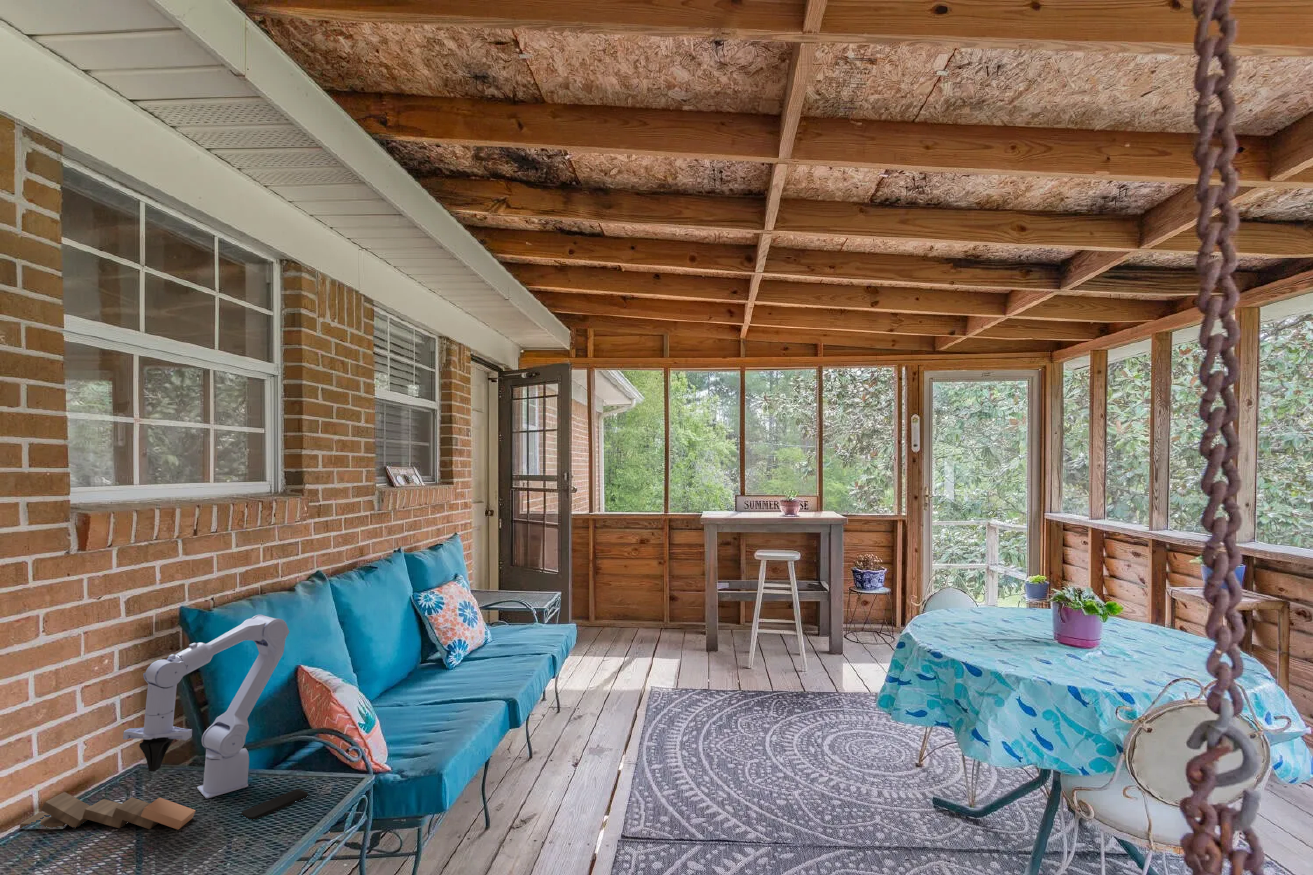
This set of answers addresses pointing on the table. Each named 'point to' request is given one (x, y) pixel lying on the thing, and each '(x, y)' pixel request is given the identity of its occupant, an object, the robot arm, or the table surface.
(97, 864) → the table surface
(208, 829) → the table surface
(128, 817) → the domino
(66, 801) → the domino
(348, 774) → the table surface
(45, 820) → the domino
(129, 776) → the table surface
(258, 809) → the remote control
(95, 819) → the domino
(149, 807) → the domino
